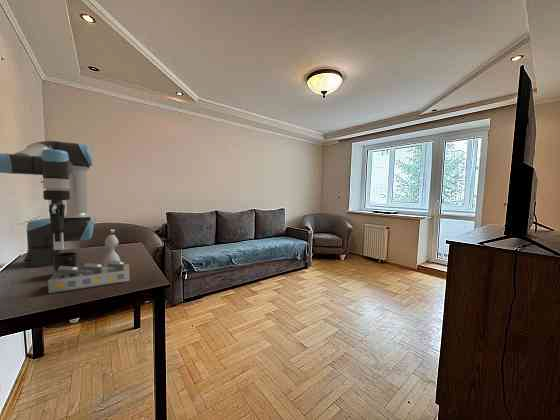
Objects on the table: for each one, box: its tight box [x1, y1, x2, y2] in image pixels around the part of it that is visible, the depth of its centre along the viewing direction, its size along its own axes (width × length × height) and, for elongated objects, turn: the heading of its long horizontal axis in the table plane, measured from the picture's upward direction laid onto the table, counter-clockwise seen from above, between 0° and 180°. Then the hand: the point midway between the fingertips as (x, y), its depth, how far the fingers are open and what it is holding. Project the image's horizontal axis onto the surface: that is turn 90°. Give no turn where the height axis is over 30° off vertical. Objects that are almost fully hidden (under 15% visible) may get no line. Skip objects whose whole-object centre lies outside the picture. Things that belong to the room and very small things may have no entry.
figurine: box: [102, 228, 122, 267], centre depth 119 cm, size 8×8×20 cm
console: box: [47, 263, 131, 294], centre depth 100 cm, size 10×26×6 cm, turn 124°
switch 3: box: [107, 261, 125, 269], centre depth 105 cm, size 5×6×2 cm
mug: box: [52, 251, 78, 273], centre depth 107 cm, size 8×12×10 cm
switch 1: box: [57, 266, 80, 275], centre depth 96 cm, size 5×6×2 cm
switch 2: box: [82, 262, 103, 272], centre depth 100 cm, size 5×6×2 cm
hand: (58, 249), depth 93 cm, fingers closed
